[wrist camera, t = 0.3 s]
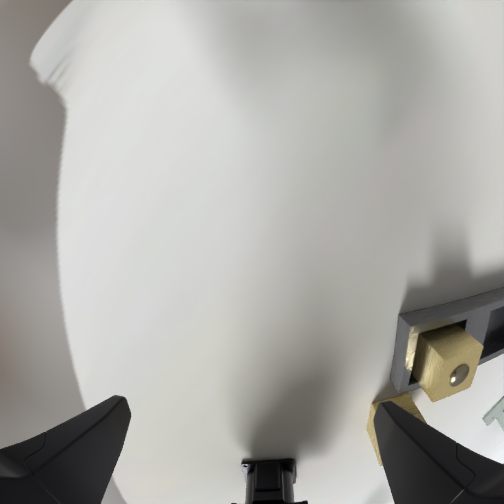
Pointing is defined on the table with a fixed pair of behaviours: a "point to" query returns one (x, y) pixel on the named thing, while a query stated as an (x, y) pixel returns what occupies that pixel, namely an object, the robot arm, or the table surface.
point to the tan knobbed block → (401, 401)
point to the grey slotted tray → (460, 312)
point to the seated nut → (445, 361)
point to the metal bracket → (496, 413)
